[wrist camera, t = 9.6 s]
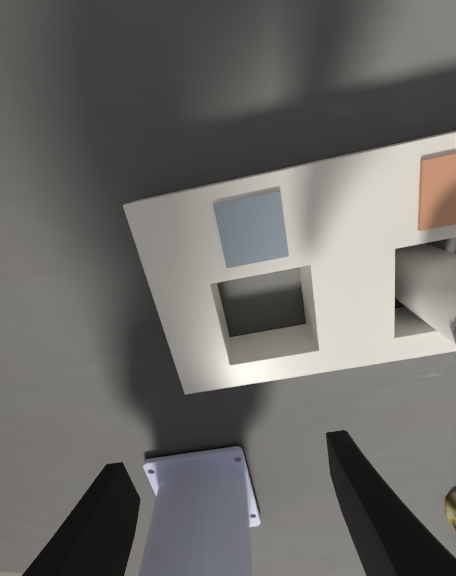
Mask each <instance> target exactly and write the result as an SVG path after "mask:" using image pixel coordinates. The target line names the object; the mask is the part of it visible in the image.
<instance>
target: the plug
mask: <svg viewBox="0 0 456 576" xmlns="http://www.w3.org/2000/svg"><path fill="white" fill-rule="evenodd" d="M395 299H397V300H398V301H399V302H400V303H402V304H403V305H404V306H406V307H407V308H408V309H410V310H411V311H412V312H413V313H415V314H416V315H417V316H419V317H420V318H421V319H423V320H424V321H425V322H426V323H428V324H429V325H430V326H432V327H433V328H434V329H435V330H437V331H438V332H439V333H441V334H442V335H443V336H445V337H446V338H447V339H448V340H450V341H451V342H452V343H454V344H455V345H456V255H455V254H453V253H450V252H447V251H444V250H442V249H439V248H436V247H434V246H431V245H428V244H425V243H423V244H418V245H413V246H407V247H402V248H398V249H396V250H395Z"/></svg>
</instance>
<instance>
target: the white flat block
mask: <svg viewBox="0 0 456 576" xmlns="http://www.w3.org/2000/svg"><path fill="white" fill-rule="evenodd" d="M123 208H124V211H125V214H126V217H127V220H128V223H129V226H130V229H131V232H132V235H133V238H134V241H135V244H136V247H137V251H138V254H139V257H140V260H141V263H142V266H143V269H144V272H145V275H146V278H147V281H148V284H149V287H150V290H151V293H152V296H153V299H154V302H155V305H156V308H157V311H158V314H159V317H160V320H161V323H162V327H163V330H164V333H165V336H166V339H167V342H168V345H169V348H170V351H171V354H172V357H173V360H174V363H175V366H176V369H177V372H178V375H179V378H180V381H181V384H182V387H183V390H184V393H185V395H186V394H192V393H198V392H204V391H211V390H217V389H223V388H229V387H236V386H242V385H248V384H254V383H261V382H267V381H273V380H279V379H285V378H292V377H298V376H304V375H310V374H317V373H323V372H329V371H335V370H342V369H348V368H354V367H360V366H366V365H373V364H379V363H385V362H391V361H398V360H404V359H410V358H416V357H422V356H429V355H435V354H441V353H447V352H454V351H456V345H455V344H454V343H452V342H451V341H450V340H448V339H447V338H446V337H445V336H443V335H442V334H441V333H439V332H438V331H437V330H435V329H434V328H433V327H432V326H430V325H429V324H428V323H426V322H425V321H424V320H423V319H421V318H420V317H419V316H417V315H416V314H415V313H413V312H412V311H411V310H410V309H408V308H407V307H400V308H395V249H397V248H402V247H407V246H413V245H418V244H423V243H428V242H434V241H439V240H444V239H449V238H455V237H456V130H455V131H451V132H446V133H442V134H437V135H432V136H428V137H423V138H419V139H414V140H410V141H405V142H400V143H396V144H391V145H387V146H382V147H378V148H373V149H368V150H364V151H359V152H355V153H350V154H346V155H341V156H336V157H332V158H327V159H323V160H318V161H314V162H309V163H304V164H300V165H295V166H291V167H286V168H281V169H277V170H272V171H268V172H263V173H259V174H254V175H249V176H245V177H240V178H236V179H231V180H227V181H222V182H217V183H213V184H208V185H204V186H199V187H195V188H190V189H185V190H181V191H176V192H172V193H167V194H163V195H158V196H153V197H149V198H144V199H140V200H137V201H134V202H131V203H127V204H124V205H123ZM297 267H299V269H300V278H301V286H302V295H303V303H304V311H305V320H306V324H303V325H297V326H291V327H286V328H280V329H274V330H268V331H263V332H257V333H251V334H245V335H240V336H234V337H230V336H229V332H228V327H227V323H226V319H225V315H224V310H223V306H222V302H221V298H220V293H219V289H218V285H217V283H218V282H224V281H229V280H234V279H239V278H245V277H250V276H255V275H260V274H266V273H271V272H276V271H281V270H287V269H292V268H297Z"/></svg>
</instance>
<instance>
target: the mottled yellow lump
mask: <svg viewBox="0 0 456 576" xmlns="http://www.w3.org/2000/svg"><path fill="white" fill-rule="evenodd" d="M445 513H446V517H447V519H448V521H449V523H450V524H451V526H452V527H453V529H454V530H455V531H456V491H455V492H453V493H451V494H449V495H448V496H447V497H446V499H445Z"/></svg>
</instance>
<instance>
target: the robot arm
mask: <svg viewBox="0 0 456 576" xmlns="http://www.w3.org/2000/svg"><path fill="white" fill-rule="evenodd" d="M326 438H327V448H328V457H329V466H330V475H331V478H332V481H333V485H334V488H335V492H336V495H337V498H338V502H339V505H340V508H341V511H342V514H343V516H344V519H345V522H346V524H347V527H348V529H349V532H350V535H351V537H352V540H353V542H354V545H355V547H356V550H357V552H358V555H359V558H360V560H361V563H362V565H363V568H364V570H365V573H366V575H367V576H456V558H455V557H454V556H453V555H452V554H451V553H450V552H449V551H448V550H447V549H446V548H445V547H444V546H443V545H442V544H441V543H440V542H439V541H438V540H437V539H436V538H435V537H434V536H433V535H432V534H431V533H430V532H429V530H428V529H427V528H426V527H425V526H424V525H423V524H422V523H421V522H420V521H419V520H418V519H417V518H416V516H415V515H414V514H413V513H412V512H411V511H410V510H409V509H408V508H407V506H406V505H405V504H404V503H403V502H402V501H401V500H400V499H399V497H398V496H397V495H396V494H395V493H394V491H393V490H392V489H391V488H390V487H389V486H388V484H387V483H386V482H385V481H384V480H383V479H382V477H381V476H380V475H379V474H378V472H377V471H376V470H375V469H374V467H373V466H372V465H371V464H370V462H369V461H368V460H367V459H366V457H365V456H364V455H363V453H362V452H361V451H360V449H359V448H358V446H357V445H356V444H355V442H354V441H353V439H352V438H351V437H350V435H349V433H348V432H346V431H345V430H342V431H335V432H328V433H326ZM143 468H144V470H145V473H146V475H147V477H148V479H149V482H150V484H151V486H152V488H153V490H154V493H155V495H156V501H155V505H154V510H153V514H152V518H151V523H150V527H149V532H148V536H147V541H146V545H145V550H144V554H143V559H142V563H141V567H140V572H139V576H252V560H251V543H250V527H254V526H258V525H260V523H261V520H260V515H259V511H258V507H257V503H256V499H255V496H254V492H253V488H252V484H251V480H250V476H249V472H248V468H247V465H246V461H245V457H244V453H243V450H242V448H240V447H238V446H234V447H227V448H221V449H214V450H207V451H200V452H193V453H186V454H179V455H172V456H165V457H158V458H151V459H147V460H145V461H144V464H143ZM139 506H140V497H139V495H138V493H137V491H136V489H135V487H134V485H133V483H132V481H131V479H130V477H129V475H128V472H127V470H126V468H125V466H124V464H123V462H120V463H113V464H106V466H105V467H104V468H103V470H102V471H101V472H100V474H99V475H98V476H97V478H96V479H95V480H94V482H93V483H92V485H91V486H90V487H89V489H88V490H87V491H86V493H85V494H84V495H83V497H82V498H81V500H80V501H79V502H78V504H77V505H76V506H75V508H74V509H73V510H72V512H71V513H70V514H69V516H68V517H67V518H66V520H65V521H64V522H63V524H62V525H61V526H60V528H59V529H58V530H57V532H56V533H55V534H54V536H53V537H52V538H51V540H50V541H49V542H48V544H47V545H46V546H45V547H44V549H43V550H42V551H41V552H40V554H39V555H38V556H37V557H36V559H35V560H34V561H33V562H32V564H31V565H30V566H29V567H28V569H27V570H26V571H25V572H24V574H23V575H22V576H124V573H125V570H126V566H127V562H128V558H129V555H130V551H131V547H132V543H133V539H134V535H135V530H136V524H137V519H138V512H139Z"/></svg>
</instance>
